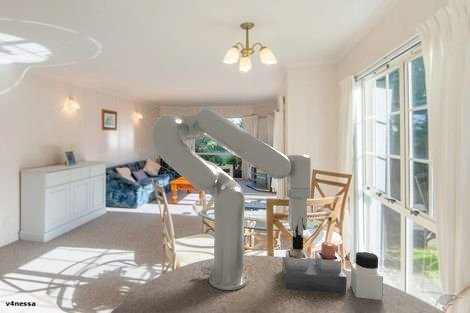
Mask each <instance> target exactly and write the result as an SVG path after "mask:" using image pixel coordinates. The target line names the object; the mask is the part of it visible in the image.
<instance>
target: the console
mask: <svg viewBox="0 0 470 313" xmlns="http://www.w3.org/2000/svg"><path fill="white" fill-rule="evenodd" d="M281 264H282V269H281V270H282V278H283V282H284V288H285V290H295V291H308V292H324V293H325V292H326V293H339V294H340V293H342V294H347V280H348V279H347V278H348V277H347V275H346V273H345V272H344V270H343V269H342V259H341V257H340V256H339V255H338V253H336V252H335V259H325V258H323V257H322V256H321V251H316V252H315V258H313V257H312V258H311V257H309V256H308V254H307V252H306V251H305V250H303V258H298V257H290V249H287V250H285V256H282V263H281Z"/></svg>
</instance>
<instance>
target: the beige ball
mask: <svg viewBox="0 0 470 313" xmlns="http://www.w3.org/2000/svg"><path fill="white" fill-rule="evenodd" d="M289 250H290V257H298V258H303V251H304V248H303V249H302V250H301V249H293V245H292V246H290V247H289Z"/></svg>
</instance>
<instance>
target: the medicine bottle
mask: <svg viewBox="0 0 470 313" xmlns="http://www.w3.org/2000/svg"><path fill="white" fill-rule="evenodd" d="M350 267H351V268H350V287H351V289H352V291H353V293H354V296H355V297H356V298H358V299H359V298H360V299H365V300H374V301H383V295H384V294H383V287H384V276H383V275H382V273H381V272H380V270H379V257H378V256H377V254H375V253H373V252H370V251H368V250H367V251H365V250H362V251H360V250H359V251H357V252H356V253H355V263H351V265H350Z"/></svg>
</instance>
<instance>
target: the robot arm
mask: <svg viewBox="0 0 470 313" xmlns="http://www.w3.org/2000/svg"><path fill="white" fill-rule="evenodd" d="M151 134H152V135H151V137H152V139H151V140H152V144H153V146H154V149H155V151H156V153H157V155H158V156H159V157H160V158H161V159H162V161H163V162H165V163H166V164H167V165H168V166H169V167H170V168H172V169H173V170H174V171H175V172H176V173H178V175H180V176H181V177H182V178H183V179H184V180H185V181H187V182H188V183H189V184H190V185H191V186H192V187H193V188H194V189H196V190H197V191H200V192H207V194H209V195H210V196H211V197H212V198H214V199H213V209H214V210H213V212H214V213H213V215H214V218H213V219H214V223H213V225H214V226H213V227H214V230H213V233H214V234H213V236H214V239H213V241H214V242H213V243H214V244H213V245H214V247H213V264H211V265H207V264H201V267H200V272H202V274H203V275H206V276H207V275H209V277H208V282H209V284H210V285H211V286H212V287H213V288H214V289H218V290H222V291H234V290H235V291H236V290H238V289H242V288H244V287H245V286H246V285H247V283H248V282H249V276H248V274H247V273H246V272H245V271H244V248H245V247H244V243H245V240H244V239H245V238H244V236H245V233H244V231H245V230H244V229H245V227H244V226H245V210H246V199H245V194H244V191H243V189H242V186H241V185H240V184H239V183H238V182H237V181H236V180H235V179H233V178H232V177H231V176H230V175H229V174H228V173H226V172H225V171H224V170H223V169H222V168H221V167H219V166H218V165H216V163H214V162H213V161H209V160H206V159H204V158H202V157H201V156H200V155H199V154H198V153H196V152H195V151H194V150H193V149H192V148H191V147H189V146H188V145H187V144H186V143H185V141H190V140H197V139H203V138H207V139H208V140H210V141H212V142H214V143H215V144H216V145H218V146H220V147H221V148H223V149H224V150H226V151H227V152H229V153H231V154H232V155H234V156H235V157H237V158H239V159H242V160H243V161H246V162H247V163H249V164H250V165H252V166H253V167H255V168H257V169H258V170H260V171H261V172H263V174H264V173H265V175H268V176H269V177H271V178H272V179H275V180H283V179H286V198H288V215H287V223H288V227H289V228H290V230H291V231H292V246H293V249H301V250H302V249H303V250H304V231H306V230H307V227H308V226H307V225H308V199H310V198H311V169H312V168H311V166H312V165H311V164H312V163H311V157H310V155H308V154H290V155H287V154H283V153H282V152H280V151H278V150H276V149H275V148H274V147H272V146H271V145H269V144H267V143H265V141H262V140H260V139H259V138H257V137H256V136H254V135H253V134H252V133H250V132H248V131H247V130H245V129H244V128H242V127H241V126H240V125H237V124H236V123H234V122H233V121H231V120H229V119H228V118H226V117H225V116H224V115H222V114H220V113H219V112H217V111H216V110H214V109H212V108H208V107H206V108H202V109H201V110H200V109H199V111H197V113H196V114H192V115H191V114H190V115H186V116H177V115H176V114H173V113H172V114H169V113H167V114H162V115H161V116H160V117H158V118H157V119H156V121H155V122H154V125H153V127H152V133H151Z"/></svg>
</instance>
